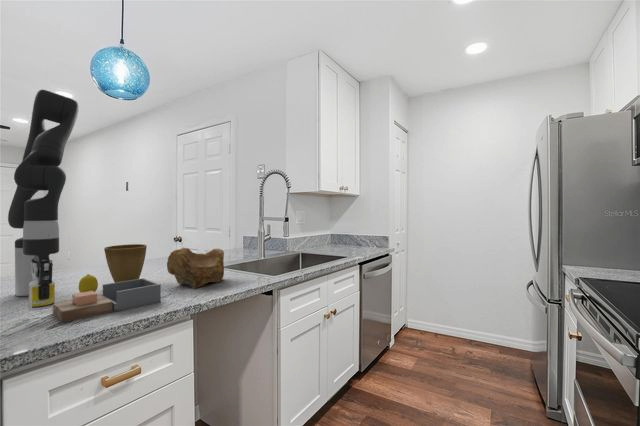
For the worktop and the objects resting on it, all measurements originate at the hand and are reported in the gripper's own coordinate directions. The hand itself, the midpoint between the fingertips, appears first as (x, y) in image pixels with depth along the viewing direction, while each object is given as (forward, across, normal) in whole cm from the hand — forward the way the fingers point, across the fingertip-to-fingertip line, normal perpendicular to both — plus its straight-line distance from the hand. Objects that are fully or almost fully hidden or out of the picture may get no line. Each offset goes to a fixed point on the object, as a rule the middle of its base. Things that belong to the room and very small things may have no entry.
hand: (41, 296), depth 87 cm
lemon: (+7, +19, -15) cm, 25 cm away
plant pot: (+7, +28, -30) cm, 42 cm away
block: (+4, 0, -10) cm, 10 cm away
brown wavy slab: (+7, 0, -9) cm, 11 cm away
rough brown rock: (+7, +6, -50) cm, 51 cm away
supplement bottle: (+3, 0, 0) cm, 3 cm away
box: (+7, 0, -22) cm, 23 cm away
